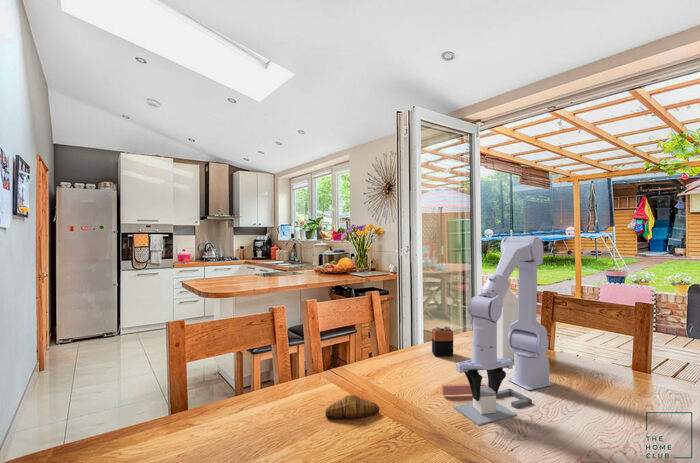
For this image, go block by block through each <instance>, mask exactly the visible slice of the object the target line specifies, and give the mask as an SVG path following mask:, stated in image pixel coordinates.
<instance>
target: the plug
mask: <svg viewBox="0 0 700 463" xmlns="http://www.w3.org/2000/svg"><path fill="white" fill-rule="evenodd" d="M472 402H473V407H474V408H475V409H476V410H477V411H478V412H479V413H480V414H488V413H496V402H497V397H496V392H495V391H494V390H492V389H491V388H490V387H488V386H487V385H486V386H480V399H479V401H476V400H475V399H474V398H473V397H472Z"/></svg>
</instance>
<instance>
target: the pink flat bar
mask: <svg viewBox="0 0 700 463" xmlns="http://www.w3.org/2000/svg"><path fill="white" fill-rule="evenodd" d="M481 386H488V382H486V384H485V383H482V382H481ZM441 395H442V396H454V395H455V396H459V395H463V396H464V395H472V391H471V387H470V384H469V383H461V384H459V383H457V384H442V385H441Z"/></svg>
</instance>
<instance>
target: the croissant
mask: <svg viewBox="0 0 700 463" xmlns="http://www.w3.org/2000/svg"><path fill="white" fill-rule="evenodd" d="M379 412H380V406H379V404H377V403H375V402H374V401H372V400H369V399H365V398H361V397H360V396H359V395H355V394H348V395H346V396H343V397H342V398H341V399H340V400H338V401H336V402H334V403H332V404H330V405H329V406H327V408H326V409H325V416H326V418H331V419H358V418H363V417H369V416H374V415H376V414H378V413H379Z"/></svg>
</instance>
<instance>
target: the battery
mask: <svg viewBox="0 0 700 463" xmlns="http://www.w3.org/2000/svg"><path fill="white" fill-rule="evenodd" d="M431 353H432V354H433V356H434V357H436V356H440V357H454V331H453V329H451V327H450V326H443V328H442V327H438V326H436V327H435V328H432V329H431Z"/></svg>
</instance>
